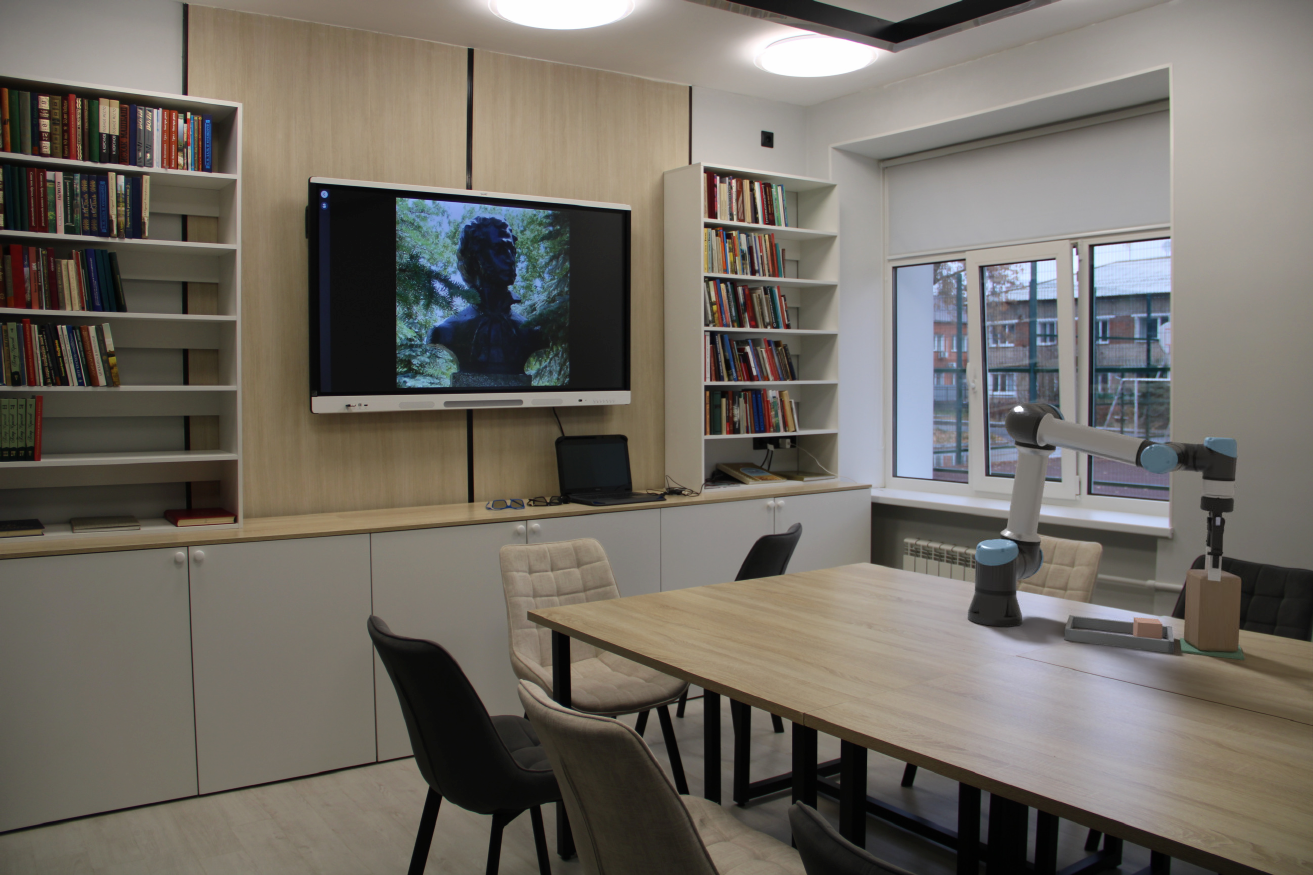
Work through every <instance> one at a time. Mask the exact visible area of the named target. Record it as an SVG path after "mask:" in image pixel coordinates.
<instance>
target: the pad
mask: <svg viewBox="0 0 1313 875" xmlns="http://www.w3.org/2000/svg"><path fill="white" fill-rule="evenodd" d="M1179 644H1180V650H1181V653H1184V654H1194V655H1200V656H1206V657H1207V656H1209V657H1215V658H1217V657H1218V658H1225V659H1233V660H1242V661H1245V655H1244V652H1243V651H1242V650H1243V649H1242V648H1241V646H1240V644H1239V645H1238V651H1236V652H1219V651H1201V650H1198V649H1197V648H1195V647H1193V646H1192V645H1190V644H1188V643H1187V642H1185V640H1184V637H1179Z"/></svg>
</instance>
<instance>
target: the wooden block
mask: <svg viewBox="0 0 1313 875" xmlns="http://www.w3.org/2000/svg"><path fill="white" fill-rule="evenodd" d="M1208 572H1209V570H1205V569H1199V568H1197V569H1194V568H1193V569H1191V568H1190V569H1187V570H1186V578H1185V579H1186V580H1185V582H1186V583H1185V584H1186V585H1185V606H1184V607H1185V608H1184V629H1183V630H1184V631H1183V638H1184V640H1185V642H1187V643H1188V644H1190V645H1192V646H1193V647H1195V648H1197V649H1198V650H1201V651H1219V652H1236V651H1238V645H1240V643H1239V642H1240V618H1241V600H1242V598H1241V597H1242V596H1241V595H1242V579H1241V578H1242V577H1240V576H1238V575H1235V574H1233V573H1231V572H1228V571H1226V570H1223V569H1221V579H1220V581H1212V580H1208Z"/></svg>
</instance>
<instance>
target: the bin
mask: <svg viewBox="0 0 1313 875" xmlns="http://www.w3.org/2000/svg"><path fill="white" fill-rule="evenodd" d="M1133 623H1134V621H1127V620H1126V621H1125V620H1116V619H1109V618H1107V619H1106V618H1097V617H1088V616H1079V615H1071V614H1069V615H1068V619H1067V622H1066V625H1065V628H1064V639H1063V640H1064V641H1071V642H1079V643H1087V644H1096V645H1103V646H1104V645H1105V646H1111V647H1120V648H1127V649H1128V648H1129V649H1134V650H1136V649H1137V650H1144V651H1153V652H1159V653H1160V652H1161V653H1166V654H1167V653H1168V654H1174V652H1175V650H1174V649H1175V638H1174V632H1173V631H1174V630H1173V626H1170V625H1162V639H1154V638H1145V637H1137V636H1133ZM1075 628H1081V629H1075ZM1082 628H1083V629H1084V630H1082ZM1085 629H1089V630H1085ZM1093 630H1098V631H1093ZM1101 631H1108V632H1101ZM1110 632H1116V633H1110ZM1118 633H1119V634H1118ZM1120 633H1123V634H1120ZM1124 633H1125V634H1124ZM1127 634H1131V635H1127ZM1163 638H1166V639H1163Z"/></svg>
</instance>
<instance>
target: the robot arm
mask: <svg viewBox="0 0 1313 875" xmlns="http://www.w3.org/2000/svg"><path fill="white" fill-rule="evenodd" d="M1004 426H1005V430H1006V432H1007V434H1008V436H1010V438H1012V439H1013V440H1014V447H1015V448H1016V449H1017V452H1018V454H1017V461H1016V466H1015V472H1014V473H1015V474H1014V480H1013V487H1012V494H1011V500H1010V506H1009V510H1008V511H1009V513H1008V519H1007V526H1006V528H1004V529H1003V530H1001V531H1000V534H999V536H1000V537H999V538H997V539H996V538H994V539H986V540H983V541H980V542H979V543H978V544H977V545H976V549H975V555H974V559H975V561H974V564H975V566H974V567H975V568H974V569H975V570H974V594H973V596H972V599H971V602H970V605H969V607H968V610H967V619H968V620H969V621H970V622H972V623H975V624H978V625H986V626H990V627H1017V626H1019V625H1022V623H1023V614H1022V611H1021V608H1020V604H1019V601H1018V598H1017V597H1018V596H1017V589H1018V588H1017V587H1018V586H1017V585H1018V581H1020V580H1026V579H1029V578H1030V577H1032V576H1034V575H1036V574H1037V573H1038V572H1039V571H1040V570H1041V568H1042V566H1043V563H1044V557H1045V556H1044V552H1043V549H1041V541H1042V538H1041V536H1039V534H1038V527H1039V521H1040V514H1041V509H1042V502H1043V497H1044V496H1043V495H1044V489H1045V484H1046V478H1047V477H1046V476H1047V470H1048V464H1049V458H1050V456H1051V455H1052V454H1053V453H1054V452H1056V450H1057V447H1058V448H1062V449H1064V450H1065V449H1066V450H1070V451H1072V452H1073V451H1074V452H1077V453H1082V454H1085V455H1088V456H1089V455H1090V456H1092V457H1097V458H1101V459H1105V460H1109V461H1114V462H1117V463H1122V464H1124V465H1128V466H1133V467H1137V468H1140V469H1143V470H1145V471H1147V472H1149V473H1152V474H1156V475H1164V474H1168V473H1171V472H1172V473H1173V472H1178V471H1179V472H1180V471H1181V472H1182V471H1183V472H1194V473H1201V474H1202V476H1201V485H1200V486H1201V488H1200V493H1201V494H1202V495H1201V497H1200V506H1199V507H1200V510H1201V511H1206V512H1208V516H1207V517H1206V524H1207V525H1206V530H1207V532H1206V533H1207V534H1206V539H1205V542H1206V544H1205V545H1206V547H1205V563H1204V570H1209V572H1208V580H1212V581H1220V579H1221V570H1222V560H1223V555H1224V550H1223V548H1224V533H1225V526H1226V519H1225V518H1224V517H1223V513H1225V514H1227V513H1228V514H1229V513H1233V511H1234V509H1235V508H1234V507H1235V499H1234V498H1233V496H1235V489H1238V488H1239V487H1238V484H1237V483H1236V473H1237V472H1236V470H1237V460H1238V442H1237V440H1236V439H1235V438H1232V437H1220V436H1219V437H1216V436H1214V437H1213V436H1208V437H1207V436H1206V437H1205V438H1204V442H1203V443H1190V442H1189V443H1186V442H1176V441H1175V442H1174V441H1154V440H1153V441H1152V440H1148V439H1144V438H1140V437H1135V436H1131V435H1127V434H1122V433H1118V432H1115V431H1110V430H1107V429H1106V430H1105V429H1103V428H1098V427H1093V426H1089V425H1086V424H1085V425H1084V424H1080V423H1076V422H1073V421H1068V420H1065V415H1064V414H1063V412H1062V411H1061V410H1060V409H1059V408H1058V407H1056V406H1055V405H1053V404H1050V403H1045V402H1033V403H1031V402H1030V403H1028V402H1027V403H1019V404H1017V405H1015V406H1013V407H1012V408H1011V409H1010V410H1009V411H1008V413H1007V414H1006V417H1005V419H1004Z"/></svg>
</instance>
